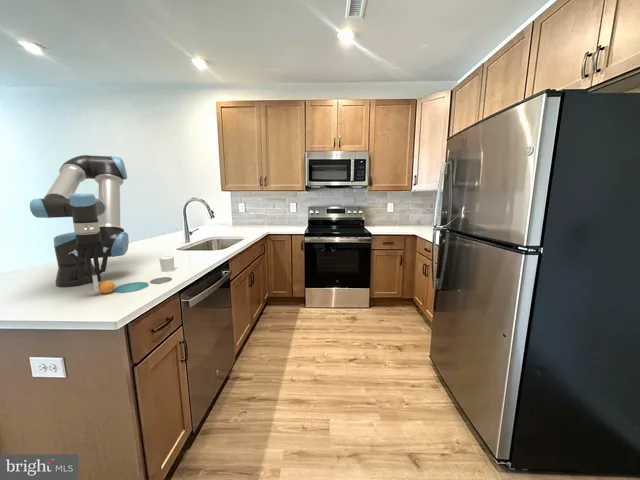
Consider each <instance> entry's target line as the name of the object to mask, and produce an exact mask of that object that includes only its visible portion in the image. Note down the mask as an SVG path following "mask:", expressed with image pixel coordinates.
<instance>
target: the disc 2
mask: <svg viewBox="0 0 640 480" xmlns="http://www.w3.org/2000/svg"><path fill="white" fill-rule="evenodd" d="M172 280H173V278H172V277H170V276H168V277H167V276H163V277H157V278H153V279H151V280H150V281H149V283H150V284H151V285H152V284H154V285H157V284H164V283H165V284H166V283H169V282H170V281H172Z"/></svg>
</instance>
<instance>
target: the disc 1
mask: <svg viewBox="0 0 640 480" xmlns="http://www.w3.org/2000/svg"><path fill="white" fill-rule="evenodd" d="M148 287H149V282H146V281H135V282H128V283H124V284H121V285H118V286H115V288H114V290H113V291H112V292H114V293H118V294H120V293H121V294H122V293H123V294H125V293H132V292H137V291H140V290H143V289H146V288H148Z"/></svg>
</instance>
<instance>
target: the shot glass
mask: <svg viewBox="0 0 640 480" xmlns="http://www.w3.org/2000/svg"><path fill="white" fill-rule="evenodd" d="M158 259H159V263H160V269H161V272H162V273H163V272H164V273H167V272H168V273H169V272H173V271H174V270H175V257H174V256H162V257H159V258H158Z"/></svg>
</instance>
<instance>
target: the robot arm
mask: <svg viewBox="0 0 640 480" xmlns="http://www.w3.org/2000/svg"><path fill="white" fill-rule="evenodd" d="M58 172H59V175H58V176H57V178H56V179H55V180H54V182H53V183H52V185H51V186H50V188H49V189H48V191H47V193H46V194H45V196H44V197H43V198H32V199H31V201H30V203H29V209H30V210H29V211H30V213H31V214H32V216H34V217H35V218H40V219H42V218H44V219H51V218H53V219H55V218H72V222H73V228H74V231H72V232H68V233H63V234H59V235H57V236H55V237H54V238H53V248H54V251H55V252H54V253H55V257H56V261H57V267H58V268H57V272H56V277H55V280H54V281H55V282H54V283H55V285H56V287H60V288H62V287H65V288H66V287H67V288H68V287H77V286H82V285H87V284H91V285H92V290H93V291H94V292H100V291H99V287H98V285H99V283H101V282H102V278H101V274H103V273H105V272H106V270H107V264H108V259H109V258H115V257H121V256H124V255H126V253H127V252H128V249H129V243H130V242H129V233H127V232H126V231H125V229H124V228H123V227H121V186H122V185H124V181H126V180H127V179H128V174H127V170H126V166H125V162H124V160H123V159H122V158H121V157H120V156H112V155H110V156H109V155H107V156H106V155H90V154H89V155H88V154H87V155H86V154H83V155H78V156H74V157H72V158H70V159H68V160H67V161H65V162H64V163H63V164H62V165H61V166H60V167H59V169H58ZM87 179H89V180H94V181H95V182H96V183H98V193H97V194H98V198H96V196H95V194H94V193H76V191H77V189H78V187H79V185H80V183H82V182H84V181H85V180H87ZM92 259H93V262H92ZM99 259H102V260H101V265H100V262H99V261H100V260H99Z"/></svg>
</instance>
